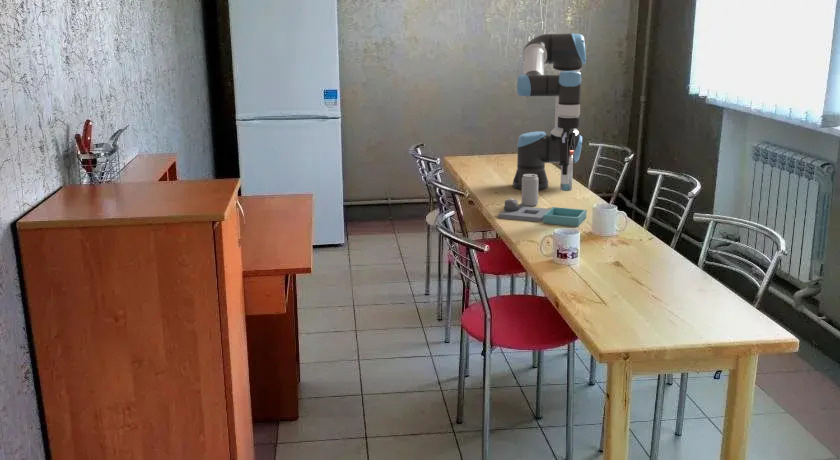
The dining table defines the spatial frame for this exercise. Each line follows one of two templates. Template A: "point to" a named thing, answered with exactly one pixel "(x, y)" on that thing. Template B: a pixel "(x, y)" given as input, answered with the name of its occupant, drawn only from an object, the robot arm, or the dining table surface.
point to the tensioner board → (522, 212)
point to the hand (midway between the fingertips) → (566, 182)
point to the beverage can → (529, 190)
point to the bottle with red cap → (569, 186)
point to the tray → (565, 216)
